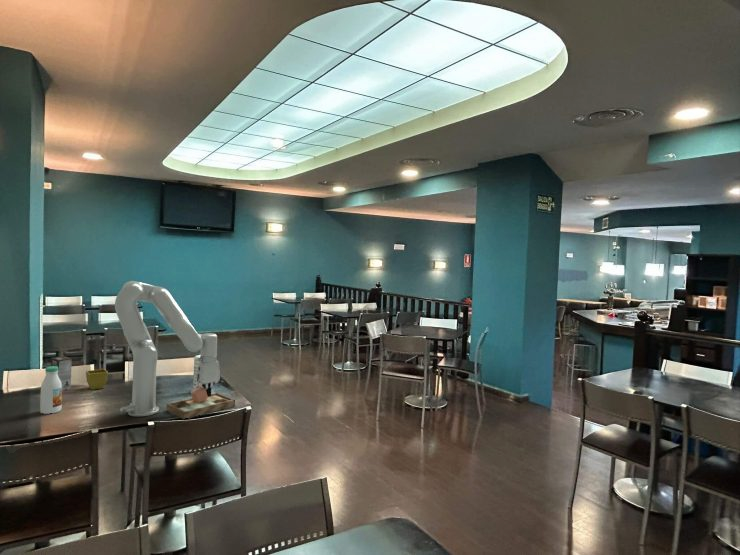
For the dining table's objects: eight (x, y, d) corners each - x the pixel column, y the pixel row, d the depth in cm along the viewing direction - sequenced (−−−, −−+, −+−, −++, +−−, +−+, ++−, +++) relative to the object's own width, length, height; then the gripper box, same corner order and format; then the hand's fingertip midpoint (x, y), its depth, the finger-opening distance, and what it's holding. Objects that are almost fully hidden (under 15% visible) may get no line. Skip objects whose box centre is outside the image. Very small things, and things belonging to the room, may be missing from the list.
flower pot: (85, 387, 234) (85, 370, 234) (104, 384, 240) (104, 368, 240) (88, 391, 228) (88, 374, 228) (107, 388, 234) (108, 371, 233)
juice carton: (205, 393, 232) (206, 357, 232) (191, 392, 234) (192, 356, 234) (213, 389, 240) (214, 355, 239) (199, 388, 242) (200, 353, 241)
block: (199, 403, 209) (196, 394, 208) (193, 400, 212) (190, 391, 211) (208, 397, 213) (205, 388, 212) (202, 395, 216) (199, 386, 215)
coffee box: (49, 388, 231) (50, 357, 230) (63, 385, 236) (64, 355, 235) (57, 391, 226) (58, 360, 225) (71, 388, 231) (72, 358, 231)
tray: (183, 419, 194) (184, 412, 194) (166, 410, 205) (166, 403, 204) (235, 406, 215) (235, 399, 215) (216, 398, 225) (216, 392, 225)
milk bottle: (44, 415, 192) (45, 370, 191) (37, 411, 196) (37, 367, 195) (64, 411, 199) (65, 367, 198) (56, 407, 203) (57, 364, 202)
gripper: (198, 362, 207) (197, 401, 207) (226, 358, 218) (225, 394, 219) (190, 359, 211) (189, 397, 212) (218, 355, 223) (217, 391, 224)
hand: (207, 396), depth 216 cm, fingers closed
